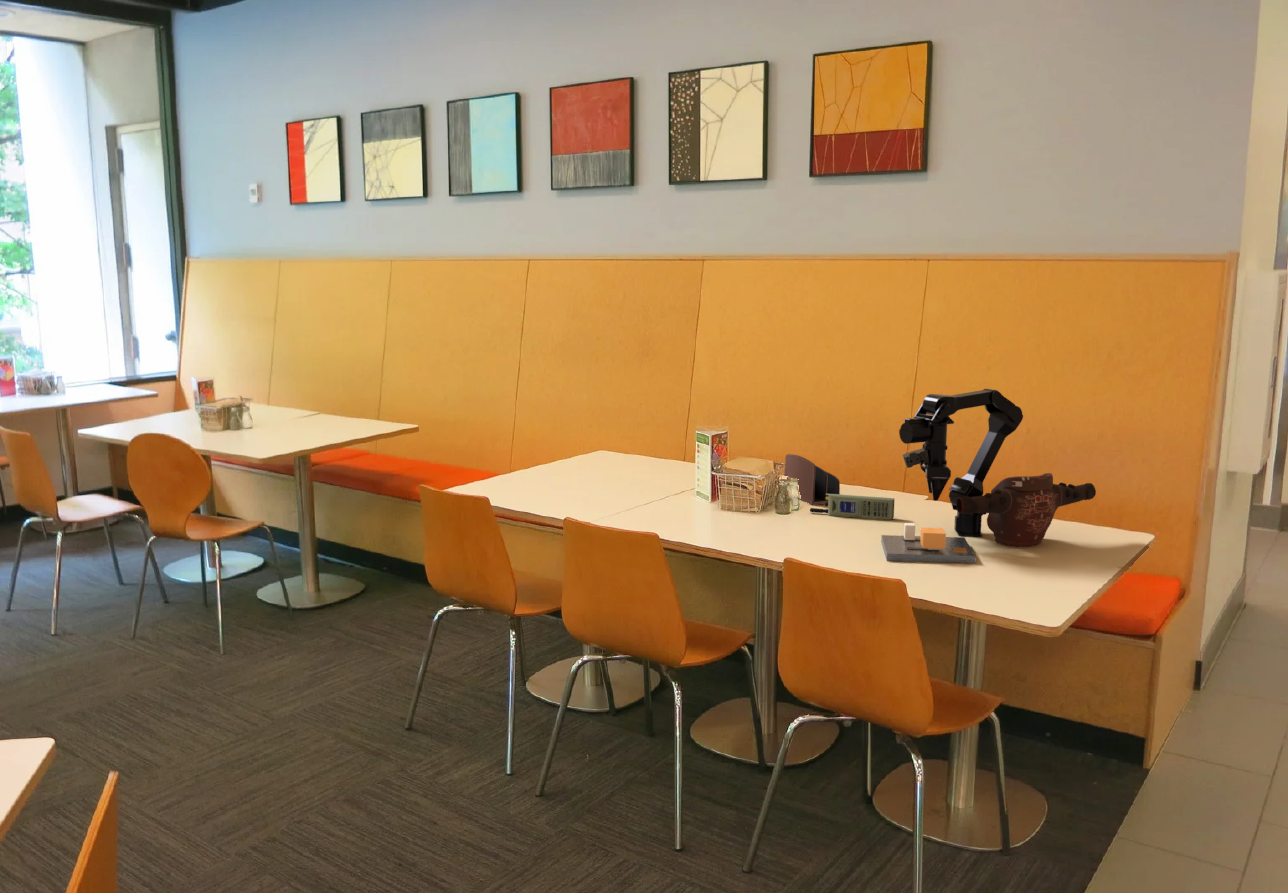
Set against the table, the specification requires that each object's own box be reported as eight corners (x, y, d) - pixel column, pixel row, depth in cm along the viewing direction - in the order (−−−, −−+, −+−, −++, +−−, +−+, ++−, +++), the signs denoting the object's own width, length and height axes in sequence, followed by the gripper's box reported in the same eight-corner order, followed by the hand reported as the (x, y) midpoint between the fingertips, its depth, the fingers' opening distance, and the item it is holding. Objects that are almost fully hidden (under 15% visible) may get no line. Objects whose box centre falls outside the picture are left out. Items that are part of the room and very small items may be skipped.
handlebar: (1071, 530, 299) (1075, 461, 295) (1105, 541, 287) (1110, 469, 284) (940, 546, 283) (943, 474, 279) (970, 559, 271) (974, 483, 268)
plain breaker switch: (913, 537, 284) (914, 523, 283) (914, 540, 281) (915, 525, 281) (903, 537, 284) (904, 522, 283) (904, 539, 282) (905, 525, 281)
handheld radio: (892, 521, 311) (808, 515, 319) (894, 519, 314) (810, 513, 322) (893, 499, 310) (809, 493, 318) (894, 497, 313) (811, 491, 321)
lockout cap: (942, 542, 275) (942, 528, 275) (945, 548, 270) (945, 533, 269) (920, 542, 276) (920, 527, 275) (922, 548, 271) (923, 533, 270)
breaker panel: (964, 544, 285) (964, 536, 284) (975, 563, 267) (975, 555, 267) (881, 542, 288) (881, 534, 288) (886, 560, 270) (887, 552, 270)
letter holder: (812, 506, 331) (813, 462, 328) (783, 493, 349) (783, 451, 346) (840, 503, 334) (841, 459, 331) (809, 490, 352) (810, 449, 350)
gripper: (901, 434, 296) (899, 488, 299) (908, 446, 278) (906, 503, 281) (942, 435, 295) (940, 489, 297) (952, 447, 276) (949, 504, 279)
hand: (933, 496), depth 289 cm, fingers open, 9 cm apart
